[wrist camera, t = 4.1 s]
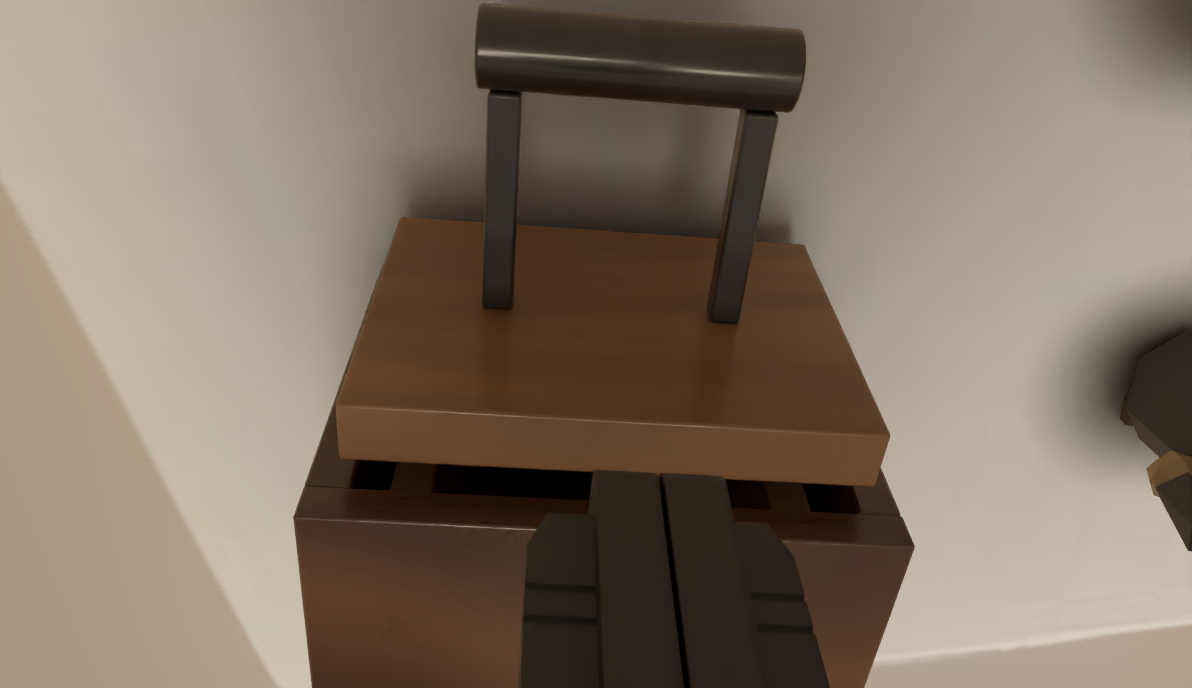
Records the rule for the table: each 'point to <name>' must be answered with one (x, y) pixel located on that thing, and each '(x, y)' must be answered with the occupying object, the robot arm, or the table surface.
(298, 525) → the cabinet
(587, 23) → the drawer
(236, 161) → the table surface
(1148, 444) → the wizard figurine
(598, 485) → the robot arm
